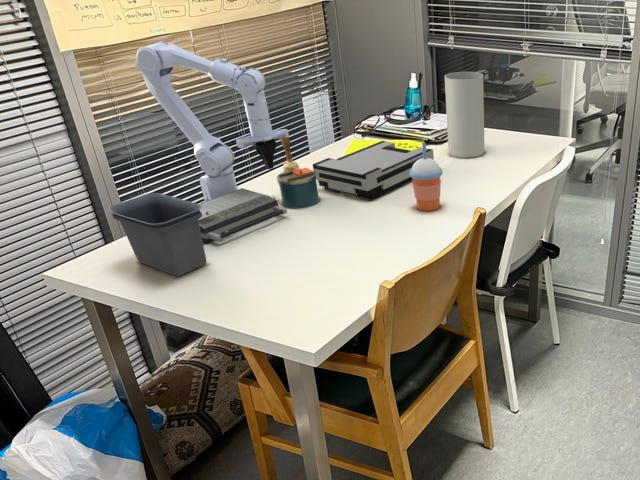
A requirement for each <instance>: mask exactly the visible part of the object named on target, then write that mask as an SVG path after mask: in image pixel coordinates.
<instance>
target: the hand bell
mask: <svg viewBox="0 0 640 480" xmlns="http://www.w3.org/2000/svg"><path fill="white" fill-rule="evenodd" d="M280 143H281V145H282V148H283V150H284V152H285V158H286V162H285V163H284V164H283V172H286V171H290V170H294V168H293V167H297V168H299V169H300V166H299V164H298V162H296V161H294V159H293V156H292V153H291V139H290V136H289V137H287V138H285V137H284V138H280Z"/></svg>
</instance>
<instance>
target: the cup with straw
mask: <svg viewBox="0 0 640 480" xmlns="http://www.w3.org/2000/svg"><path fill="white" fill-rule="evenodd" d="M426 146H427V145H426V142H421V148H423V158H421V159H419V160H417V161H416V162H415V163H414V164H413V166H412V168H411V169H410V171H409V174H410V176H411V177H412V179H413V181H411V183H412V189H413V194H414V198H415V202H416V207H417V209H418V210H419V211H424V212H432V211H435V210H438V209H439V208H440V197H441V188H442V187H441V186H442V185H441V183H442V180H441V177H442V175H443V168H441V166H440V165H439V163H438V162H437V161H436V160H435V159H434V160H433V159H430V158H426V148H427V147H426Z"/></svg>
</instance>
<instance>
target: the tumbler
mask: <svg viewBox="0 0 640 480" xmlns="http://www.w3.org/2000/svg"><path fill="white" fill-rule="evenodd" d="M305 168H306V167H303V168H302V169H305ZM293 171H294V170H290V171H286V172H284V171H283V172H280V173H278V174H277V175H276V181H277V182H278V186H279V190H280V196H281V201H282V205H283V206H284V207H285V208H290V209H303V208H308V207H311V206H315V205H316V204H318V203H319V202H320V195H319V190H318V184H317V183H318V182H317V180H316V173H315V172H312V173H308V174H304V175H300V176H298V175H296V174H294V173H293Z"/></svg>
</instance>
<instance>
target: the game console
mask: <svg viewBox="0 0 640 480" xmlns="http://www.w3.org/2000/svg"><path fill="white" fill-rule="evenodd" d="M434 156H435V155H434V149H432V148H427V147H426V158H430V159H433V160H434V161H435V159H434ZM421 158H423V148H422V146H420V147H417V148H415V149H413V150H410V149H405V148H398V147H396V144H395V142H393V141H392V142H391V141H386V140H381V141H378V142H376V143H373V144H371V145H368V146H366V147H363V148H360V149H358V150H356V151H353V152H350V153H348V154H346V155H343V156H341V157H338V158H336V159H335V158H330V157H327V158H325V159H323V160H320V161H317V162H315V163H313V164H312V171H314V172H315V173H316V181H318V186H320V187H323V188H324V190H325V191H329V192H335V193H338V194H340V193H342V192H345V193H350V194H353V195H356V198H360V199H364V200H370V201H374V200H376V199H378V198H381V197H383V196H384V195H387V194H388V193H391V192H393V191H395V190H397V189H398V188H401V187H403V186H405V185H407V184H410V183H412V182H413V179H412V177H411V176H410V174H409V171H410V169H411V168H412V166H413V164H414V163H415V162H416V161H417V160H419V159H421Z"/></svg>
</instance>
